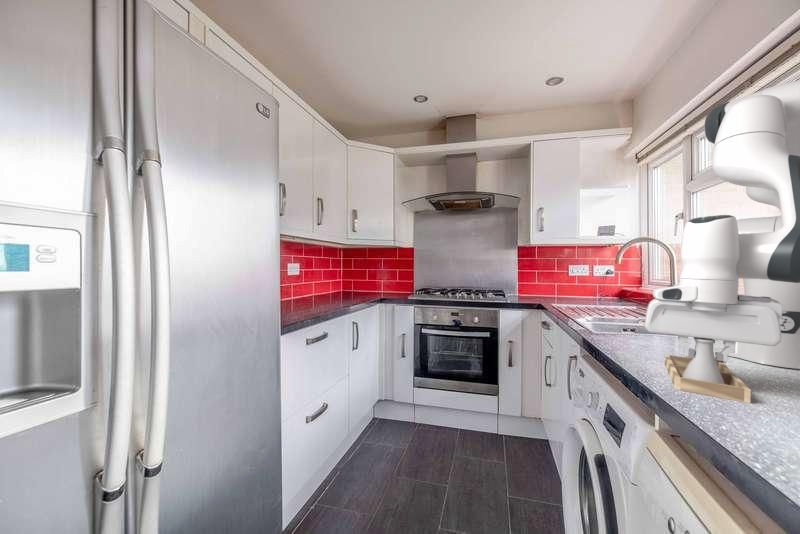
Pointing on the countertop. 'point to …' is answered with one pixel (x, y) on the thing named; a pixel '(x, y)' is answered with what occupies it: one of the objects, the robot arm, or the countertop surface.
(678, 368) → the oak caddy
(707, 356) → the flask
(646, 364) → the countertop surface
